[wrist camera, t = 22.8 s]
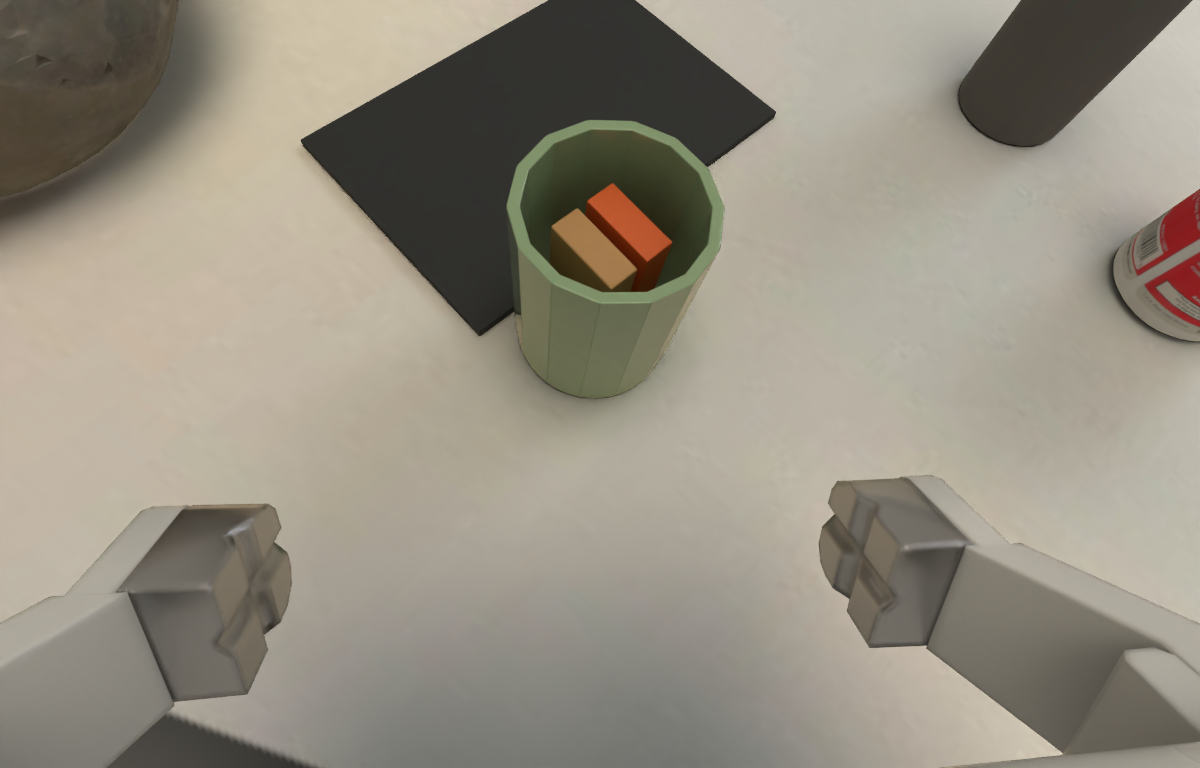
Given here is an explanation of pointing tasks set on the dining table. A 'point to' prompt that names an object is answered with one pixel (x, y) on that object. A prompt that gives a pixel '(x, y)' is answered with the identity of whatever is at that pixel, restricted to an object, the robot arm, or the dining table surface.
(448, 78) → the mat
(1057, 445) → the dining table surface
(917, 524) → the robot arm
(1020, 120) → the bottle
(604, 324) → the green faceted canister
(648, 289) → the block
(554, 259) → the block
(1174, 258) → the pill bottle
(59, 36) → the bowl
